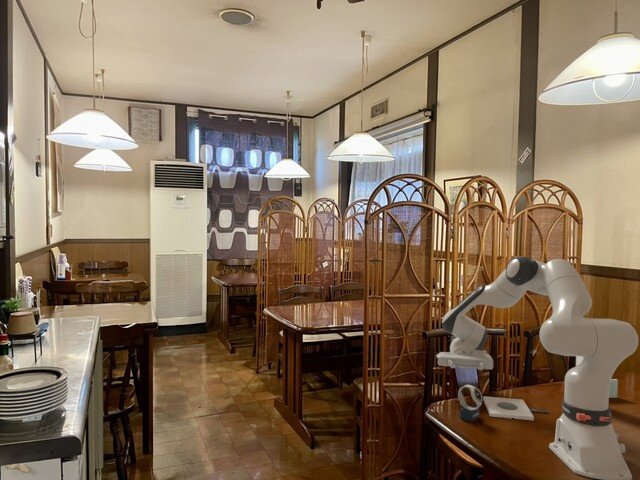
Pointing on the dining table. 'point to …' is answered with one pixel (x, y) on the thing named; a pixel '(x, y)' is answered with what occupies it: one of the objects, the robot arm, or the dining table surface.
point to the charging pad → (509, 408)
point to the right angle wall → (613, 388)
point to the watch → (469, 411)
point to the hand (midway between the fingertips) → (466, 367)
